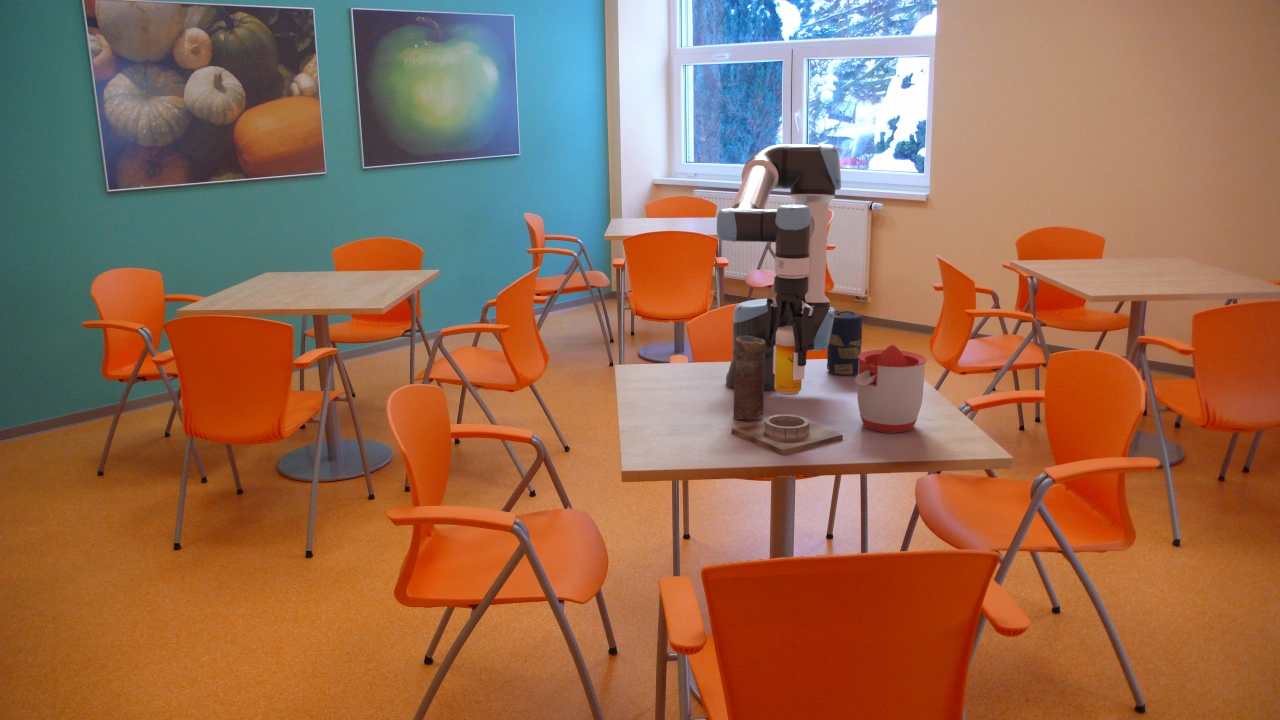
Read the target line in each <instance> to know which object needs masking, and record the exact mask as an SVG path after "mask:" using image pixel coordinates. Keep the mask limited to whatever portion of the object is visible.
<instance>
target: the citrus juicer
mask: <svg viewBox="0 0 1280 720" xmlns="http://www.w3.org/2000/svg"><path fill="white" fill-rule="evenodd" d="M858 359H859V367H858V373H857V375H856V377H855V379H854V380H855V381H854V382H855V383H856V384H857V387H856V389H857V390H856V391H857V397H856V398H857V404H858V410H859V411H858V412H859V416H860V419H861V422H862V424H863V426H865V427H866V428H867V429H870V430H872V431H873V430H874V431H877V432H883V434H884V433H885V434H892V433H902V432H904V433H905V432H908V431H911V430H912V429H913V428H914V425H915V424H916V423H917V420H918V417H919V414H920V411H921V407H922V404H923V397H924V385H925V384H924V383H925V373H926V372H925V370H926V368H925V367H926V363H927V358H926V356H924V355H921V354H920V353H917V352H912V351H908V350H907V351H906V350H900V349H899V348H898V347H897V346H896V345H895V344H890V345H889V346H888V347H886V349H870V350H866V351H861V353H860V354H859V355H858Z"/></svg>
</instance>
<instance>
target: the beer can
mask: <svg viewBox="0 0 1280 720" xmlns="http://www.w3.org/2000/svg"><path fill="white" fill-rule="evenodd" d="M801 346H802V345H801ZM794 350H797V349H796V344H795V338H794V333H793V327H792V326H784V327H778V330H777V332H776V348H775V384H774V389H775V392H776V393H777V394H778V395H782V396H797V395H798V394H799V393H800V392H801V391H802V380H803V379H800V380H793V361H794Z"/></svg>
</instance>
